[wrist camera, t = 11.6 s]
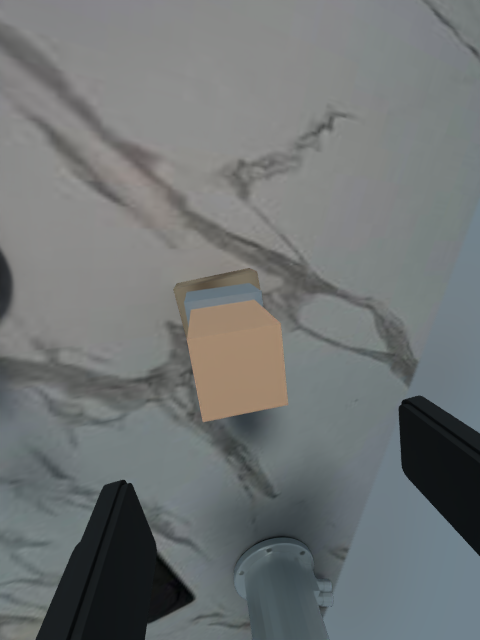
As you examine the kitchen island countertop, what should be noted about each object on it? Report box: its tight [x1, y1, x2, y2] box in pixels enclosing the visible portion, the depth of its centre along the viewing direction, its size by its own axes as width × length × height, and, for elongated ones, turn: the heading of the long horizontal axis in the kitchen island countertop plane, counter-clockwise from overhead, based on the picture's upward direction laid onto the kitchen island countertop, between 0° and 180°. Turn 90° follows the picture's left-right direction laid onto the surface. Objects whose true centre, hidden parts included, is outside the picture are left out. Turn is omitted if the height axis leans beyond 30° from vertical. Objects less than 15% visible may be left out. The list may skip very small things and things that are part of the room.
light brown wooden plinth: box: [173, 268, 260, 338], centre depth 29 cm, size 8×8×4 cm
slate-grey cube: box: [184, 283, 263, 327], centre depth 24 cm, size 6×6×5 cm
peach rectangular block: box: [187, 300, 288, 422], centre depth 18 cm, size 5×5×7 cm
